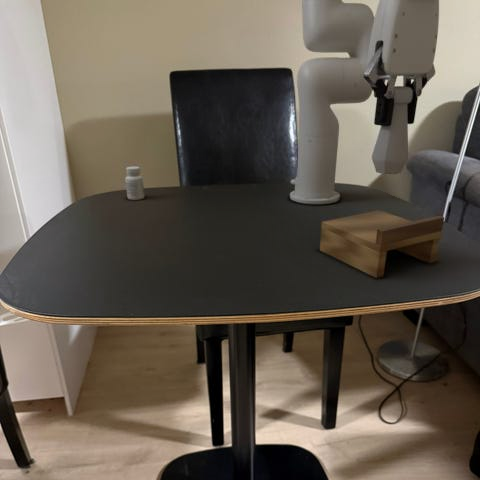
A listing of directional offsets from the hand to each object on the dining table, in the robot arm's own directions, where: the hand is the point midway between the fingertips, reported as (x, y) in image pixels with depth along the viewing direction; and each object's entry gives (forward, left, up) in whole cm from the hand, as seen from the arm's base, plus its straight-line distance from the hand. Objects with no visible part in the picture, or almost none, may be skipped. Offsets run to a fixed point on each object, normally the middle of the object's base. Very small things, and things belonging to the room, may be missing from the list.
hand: (393, 123), depth 77 cm
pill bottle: (-62, -25, -23) cm, 71 cm away
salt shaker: (0, 0, -8) cm, 8 cm away
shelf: (+1, -1, -22) cm, 22 cm away
